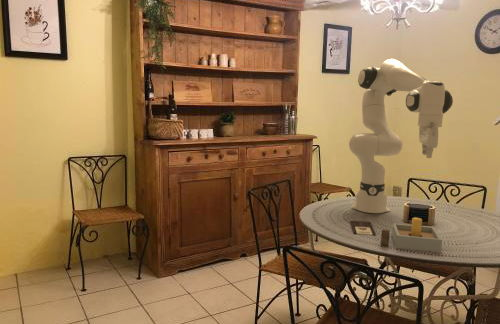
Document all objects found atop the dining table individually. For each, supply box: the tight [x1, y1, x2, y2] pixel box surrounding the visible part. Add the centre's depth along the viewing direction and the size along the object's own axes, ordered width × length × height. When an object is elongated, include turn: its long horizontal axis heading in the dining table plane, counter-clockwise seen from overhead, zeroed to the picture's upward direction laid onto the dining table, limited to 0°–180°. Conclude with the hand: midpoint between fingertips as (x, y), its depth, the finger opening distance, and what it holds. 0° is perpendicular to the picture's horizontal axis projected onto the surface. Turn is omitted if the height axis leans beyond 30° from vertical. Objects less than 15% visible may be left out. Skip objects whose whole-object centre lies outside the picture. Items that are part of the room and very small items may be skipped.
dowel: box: [411, 217, 423, 237], centre depth 165 cm, size 4×4×10 cm
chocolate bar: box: [349, 220, 376, 237], centre depth 183 cm, size 9×1×18 cm
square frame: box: [391, 222, 443, 254], centre depth 165 cm, size 16×16×5 cm
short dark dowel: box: [380, 228, 391, 248], centre depth 162 cm, size 3×3×6 cm
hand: (426, 156), depth 169 cm, fingers open, 8 cm apart
